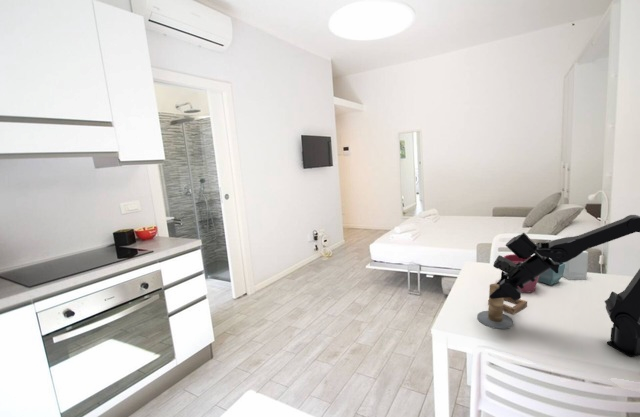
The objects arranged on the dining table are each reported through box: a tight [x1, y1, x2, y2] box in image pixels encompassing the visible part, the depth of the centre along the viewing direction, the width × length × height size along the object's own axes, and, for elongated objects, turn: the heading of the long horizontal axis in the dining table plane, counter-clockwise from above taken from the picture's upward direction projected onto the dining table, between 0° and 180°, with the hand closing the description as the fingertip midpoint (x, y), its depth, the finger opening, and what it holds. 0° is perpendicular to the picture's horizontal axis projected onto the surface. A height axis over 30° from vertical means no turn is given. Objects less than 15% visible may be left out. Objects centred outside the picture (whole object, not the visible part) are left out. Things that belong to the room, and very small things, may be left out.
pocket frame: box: [487, 297, 528, 315], centre depth 115 cm, size 9×9×2 cm
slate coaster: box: [477, 310, 514, 330], centre depth 106 cm, size 11×11×1 cm
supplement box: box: [562, 250, 589, 281], centre depth 134 cm, size 7×7×13 cm
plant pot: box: [503, 253, 539, 293], centre depth 127 cm, size 14×14×13 cm
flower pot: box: [537, 260, 565, 286], centre depth 131 cm, size 9×9×9 cm
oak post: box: [487, 283, 505, 322], centre depth 105 cm, size 4×4×12 cm
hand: (491, 294), depth 105 cm, fingers open, 5 cm apart
